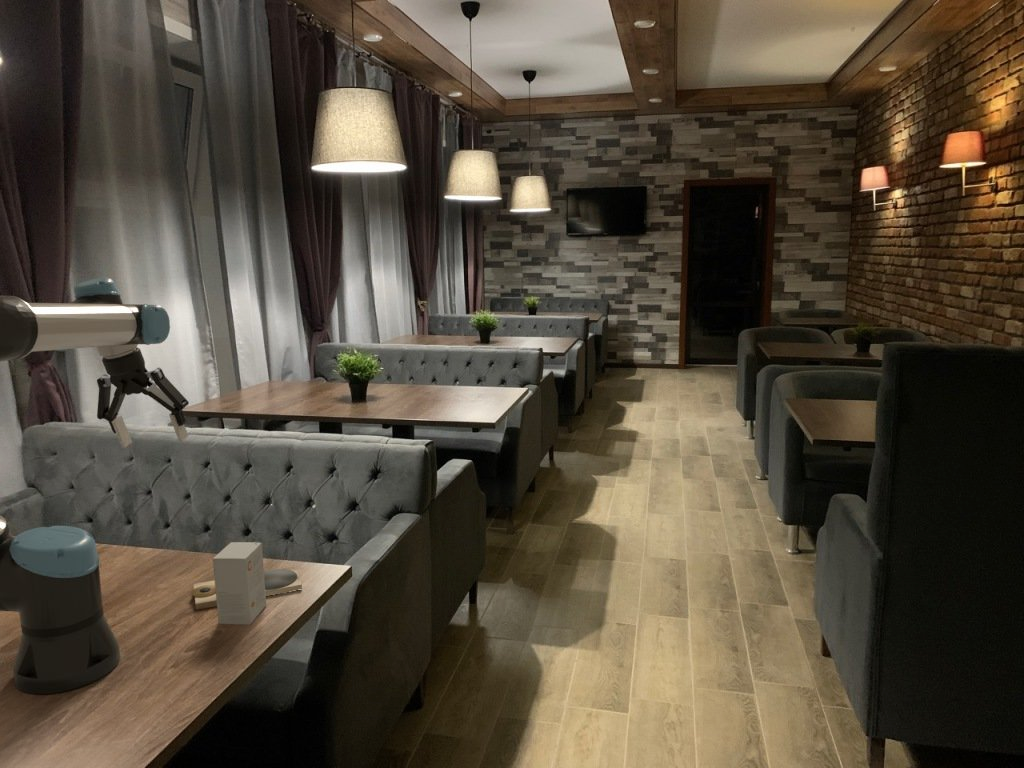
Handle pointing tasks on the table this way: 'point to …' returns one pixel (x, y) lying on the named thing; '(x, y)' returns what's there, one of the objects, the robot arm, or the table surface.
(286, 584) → the board
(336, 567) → the table surface
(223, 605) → the small box
